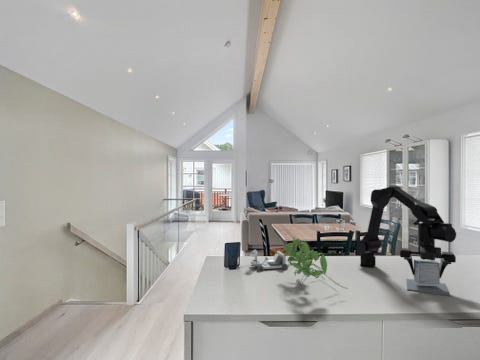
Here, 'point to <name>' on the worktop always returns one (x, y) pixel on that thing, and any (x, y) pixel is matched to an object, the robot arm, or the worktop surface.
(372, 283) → the worktop surface
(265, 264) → the toy car
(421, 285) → the mat
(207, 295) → the worktop surface
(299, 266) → the plant cuttings
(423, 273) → the medicine box
